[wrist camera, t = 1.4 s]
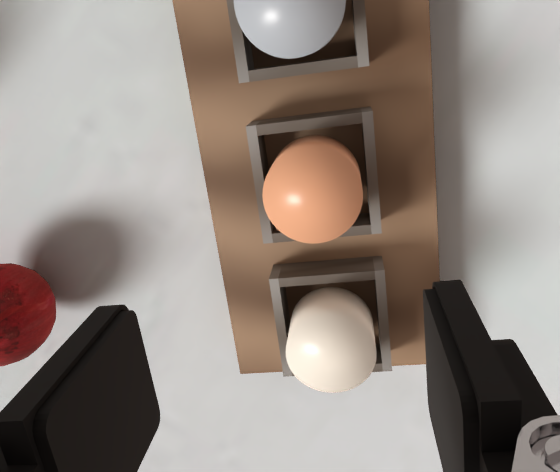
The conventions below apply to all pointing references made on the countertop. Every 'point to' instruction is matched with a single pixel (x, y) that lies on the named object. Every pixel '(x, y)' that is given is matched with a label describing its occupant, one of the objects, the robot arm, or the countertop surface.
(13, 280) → the red fruit
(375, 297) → the button board
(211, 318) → the countertop surface
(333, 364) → the cream button
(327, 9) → the grey button
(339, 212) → the terracotta button
